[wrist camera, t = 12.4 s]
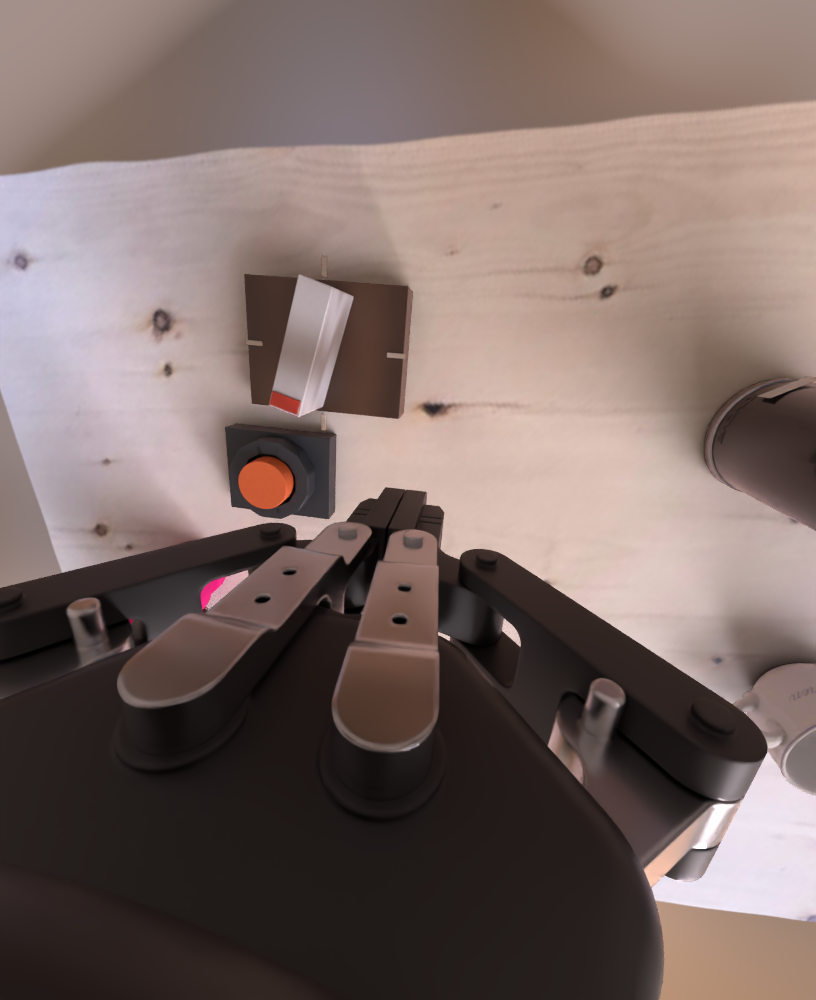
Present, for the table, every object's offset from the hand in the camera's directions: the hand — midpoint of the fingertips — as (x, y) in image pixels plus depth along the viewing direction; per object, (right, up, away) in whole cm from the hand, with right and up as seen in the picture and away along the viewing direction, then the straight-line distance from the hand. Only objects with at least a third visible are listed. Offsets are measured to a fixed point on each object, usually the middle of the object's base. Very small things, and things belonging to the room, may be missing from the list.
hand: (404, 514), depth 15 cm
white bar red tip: (-7, +13, +18) cm, 23 cm away
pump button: (-12, +2, +22) cm, 26 cm away
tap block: (-6, +14, +21) cm, 26 cm away
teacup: (+38, -19, +28) cm, 50 cm away
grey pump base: (-12, +4, +26) cm, 29 cm away
